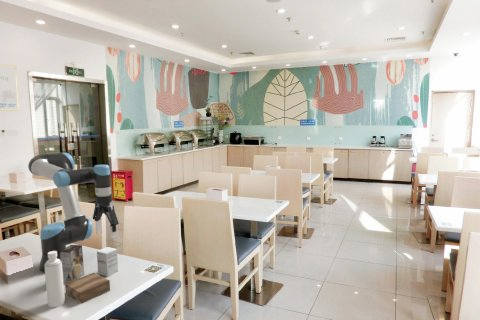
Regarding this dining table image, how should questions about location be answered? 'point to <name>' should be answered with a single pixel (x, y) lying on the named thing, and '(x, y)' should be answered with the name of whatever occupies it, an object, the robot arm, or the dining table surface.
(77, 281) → the walnut block
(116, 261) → the supplement box
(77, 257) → the coffee box
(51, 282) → the white bottle
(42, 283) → the dining table surface
